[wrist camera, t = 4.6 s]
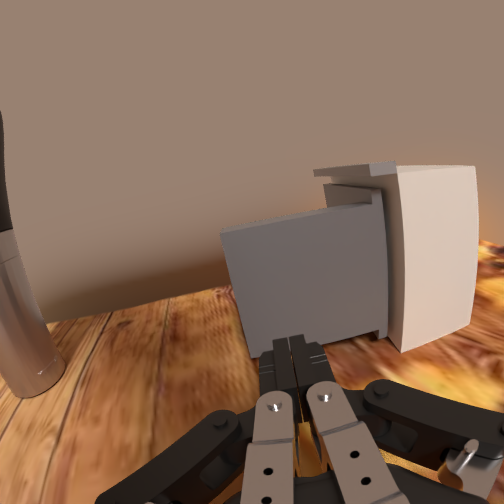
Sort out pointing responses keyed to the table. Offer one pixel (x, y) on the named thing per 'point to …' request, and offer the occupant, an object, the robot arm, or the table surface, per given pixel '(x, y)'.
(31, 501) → the table surface
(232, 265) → the side door
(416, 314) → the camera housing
